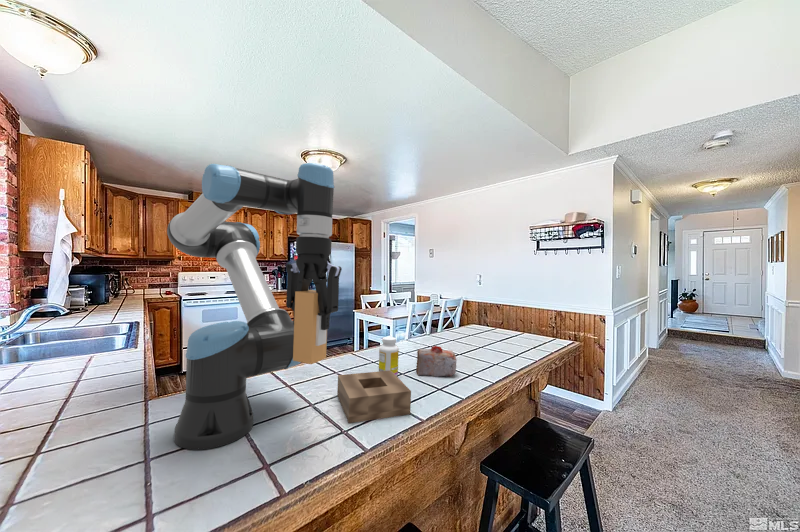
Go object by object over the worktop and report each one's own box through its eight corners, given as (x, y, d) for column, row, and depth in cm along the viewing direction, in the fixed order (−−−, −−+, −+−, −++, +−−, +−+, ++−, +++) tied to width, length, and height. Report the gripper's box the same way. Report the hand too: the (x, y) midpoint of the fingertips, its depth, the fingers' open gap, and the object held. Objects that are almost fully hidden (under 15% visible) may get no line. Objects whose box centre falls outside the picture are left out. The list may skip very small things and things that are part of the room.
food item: (452, 370, 117) (453, 344, 117) (456, 378, 109) (458, 350, 109) (415, 369, 117) (416, 342, 116) (417, 377, 109) (418, 348, 108)
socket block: (348, 423, 76) (349, 398, 76) (337, 395, 91) (338, 375, 91) (410, 414, 82) (411, 391, 82) (390, 389, 97) (390, 370, 97)
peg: (292, 360, 69) (295, 291, 69) (308, 354, 74) (310, 289, 73) (311, 364, 67) (313, 293, 67) (326, 358, 71) (328, 291, 71)
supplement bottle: (398, 372, 112) (400, 336, 112) (396, 379, 105) (398, 341, 105) (379, 371, 113) (381, 335, 112) (376, 378, 106) (378, 339, 106)
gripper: (270, 235, 70) (266, 340, 70) (338, 235, 63) (333, 352, 63) (294, 238, 77) (291, 333, 77) (358, 238, 70) (354, 344, 70)
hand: (310, 342), depth 70 cm, fingers closed on peg, 5 cm apart
